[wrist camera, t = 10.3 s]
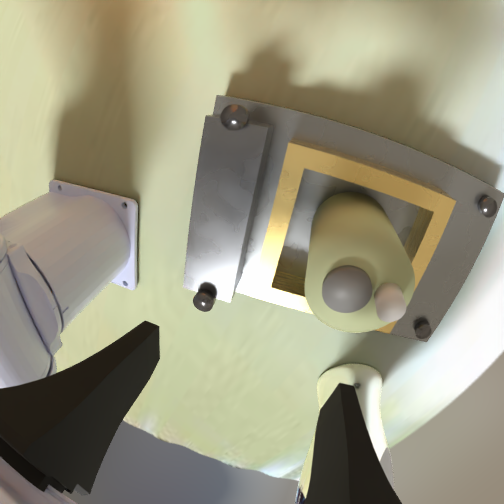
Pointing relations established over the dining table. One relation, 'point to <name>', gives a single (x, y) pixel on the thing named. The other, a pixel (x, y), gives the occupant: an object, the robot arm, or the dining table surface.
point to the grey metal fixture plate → (309, 200)
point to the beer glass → (369, 400)
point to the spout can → (356, 265)
